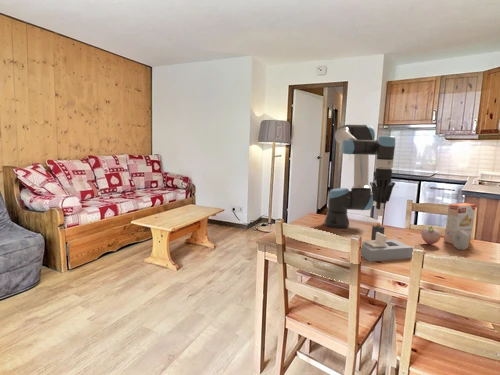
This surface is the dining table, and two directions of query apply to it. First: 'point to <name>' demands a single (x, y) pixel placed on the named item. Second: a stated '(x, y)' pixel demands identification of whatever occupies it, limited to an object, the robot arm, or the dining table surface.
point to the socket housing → (387, 251)
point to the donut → (461, 240)
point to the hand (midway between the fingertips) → (379, 215)
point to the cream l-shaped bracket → (378, 241)
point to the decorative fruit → (430, 235)
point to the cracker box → (459, 220)
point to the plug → (377, 230)
